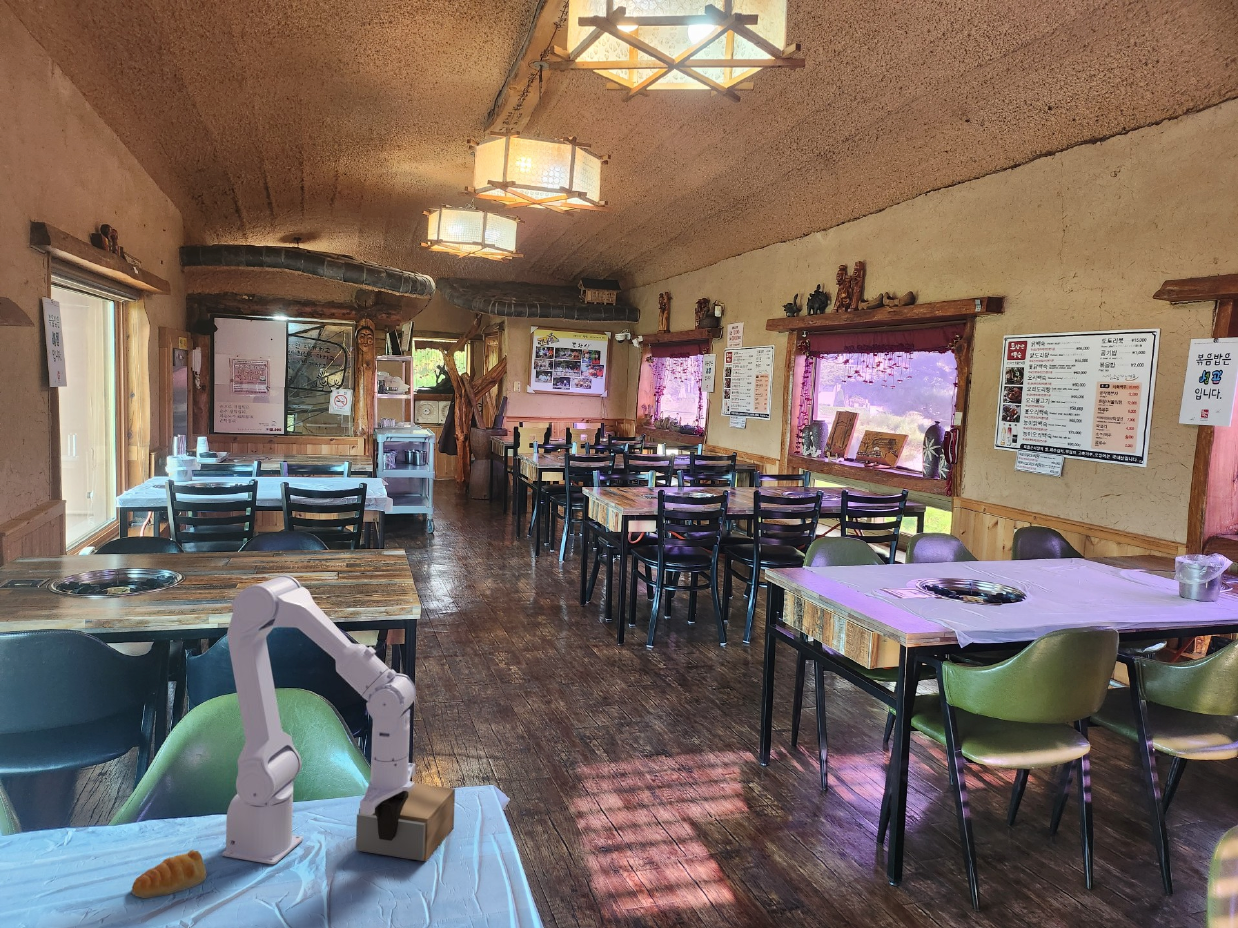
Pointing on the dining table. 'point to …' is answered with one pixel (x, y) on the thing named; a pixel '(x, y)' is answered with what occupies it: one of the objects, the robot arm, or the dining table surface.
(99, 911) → the dining table surface
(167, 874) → the pastry
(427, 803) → the housing
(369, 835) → the grey drawer
